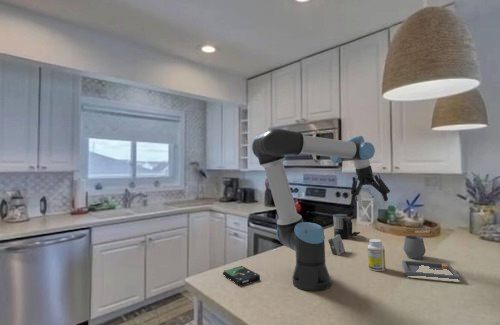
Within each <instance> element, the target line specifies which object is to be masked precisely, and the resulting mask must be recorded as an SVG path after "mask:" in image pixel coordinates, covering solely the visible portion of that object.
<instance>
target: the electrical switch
mask: <svg viewBox="0 0 500 325" xmlns="http://www.w3.org/2000/svg"><path fill="white" fill-rule="evenodd" d="M328 243H329V247H330V250H331V253H332V255H336V256H340V255H342V254H343V253H344V252H346V249H345V246H344V243H343V239H341V236H340V235H337V236H335V237H334V236H333V237H331V238H330V239H328Z"/></svg>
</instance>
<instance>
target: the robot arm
mask: <svg viewBox="0 0 500 325" xmlns="http://www.w3.org/2000/svg"><path fill="white" fill-rule="evenodd" d="M375 149H376V148H375V146H374V144H373V143H372V142H370V141H369V142H368V141H365V138H364V137H363V136H362V135H358V136H353V137H350V138H348V139H347V140H340V139H335V138H334V139H333V138H326V137H321V136H313V135H312V136H311V135H306V134H305V135H304V133H302V132H301V131H295V130H289V129H288V130H287V129H284V128H283V129H282V128H272V129H269V130H266V131H263V132H261V133H259V134H258V135H256V136H255V137H254V139H253V140H252V144H251V150H252V153H253V155H254V156H255V157H256V158H257V159H258V162H259V165H260V166H261V167H262V168H263V169H264V172H265V174H266V178H267V182H268V185H269V188H270V192H271V196H272V199H273V203H274V206H275V210H276V213H277V217H278V219H277V220H276V226H277V228H276V238H277V239H278V240H277V241H279V242H280V243H281V244H282V245H283V246H285V247H286V248H288V249H290V250H293V251H295V266H294V270H293V272H292V273H293V274H292V285H293V286H294V287H296V288H298V289H301V290H305V291H310V292H316V291H317V292H320V291H323V290H324V291H325V290H327V289H329V288H330V287H331V285H332V282H331V281H332V279H331V276H330V273H329V270H328V267H327V265H326V251H325V250H326V245H325V242H326V241H325V239H326V238H325V236H326V235H325V231H324V227H323V226H322V225H320V224H318V223H314V222H310V221H309V222H307V221H303V216H302V215H301V214H300V213H298V211H297V209H296V205H295V200H294V198H293V194H292V191H291V187H290V183H289V180H288V177H287V172H286V168H285V164H284V161H285V159H286V156H300V155H302V154H304V155H311V156H312V155H313V156H320V157H322V156H323V157H329V158H330V161H332V163H334V164H340V163H343V162H348V161H349V162H350V161H352V162H353V166H354V168H355V173H356V175H355V176H354V177H353V176H352V178H351V179H352V185H351V190H350V194H351V195H353V196H355V200H356V201H357V204H358V207H359V208H362V207H364V203H363V198H362V195H361V193H360V192H361V191H362V188H363V186H366V185H367V186H372V187H373V188H375V190H377V191H378V192H379V193H380V198H381V201H382V204H383V208H384V209H387V208H388V207H389V203H388V200H389V199H388V198H389V197H388V194H389V193H390V192H391V190H390V188H389V187H388V186H387V184H385V182H384V181H383V180H382V178H381V175H380V174H375V175H374V174H373V168H372V166H371V161H370V160H371V159H372V158H374V155H375V152H376V150H375Z"/></svg>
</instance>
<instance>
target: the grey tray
mask: <svg viewBox="0 0 500 325" xmlns="http://www.w3.org/2000/svg"><path fill="white" fill-rule="evenodd" d="M401 262H402V264H401V265H402V268H403V271H404V273H405V276H406V278H407V277H408V276H426V277H438V278H449V279H458V280H460V281H461V277H460V275H459V274H458V273H457V271H455V269H454V268H453V267H452V266H451V265H450V263H441V262H429V261H416V260H402V261H401ZM421 265H424V266H429V267H430V268H429V269H433V270H435V269H436V270H443V269H447V270H449V271H450V272H451V273H452V274H453V275H445V274H434V273H423V272H416V271H417V270H418V269H419V266H421Z"/></svg>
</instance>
